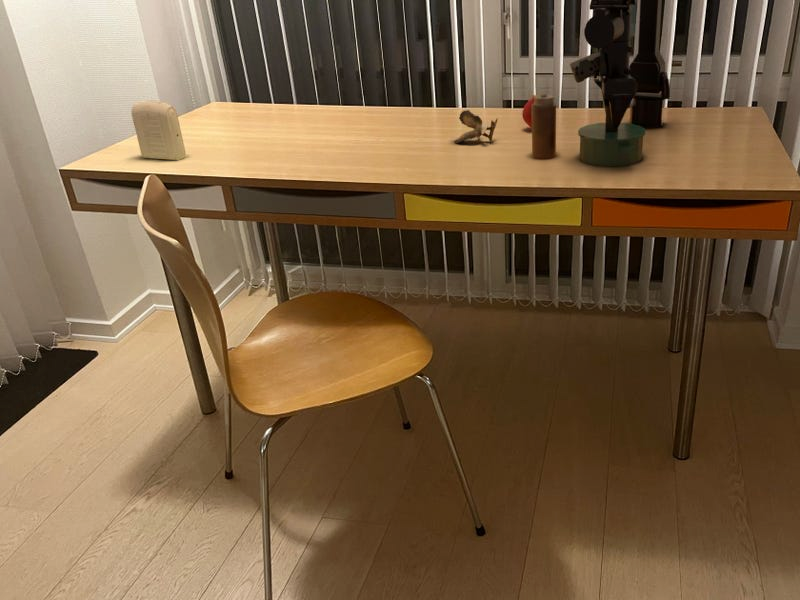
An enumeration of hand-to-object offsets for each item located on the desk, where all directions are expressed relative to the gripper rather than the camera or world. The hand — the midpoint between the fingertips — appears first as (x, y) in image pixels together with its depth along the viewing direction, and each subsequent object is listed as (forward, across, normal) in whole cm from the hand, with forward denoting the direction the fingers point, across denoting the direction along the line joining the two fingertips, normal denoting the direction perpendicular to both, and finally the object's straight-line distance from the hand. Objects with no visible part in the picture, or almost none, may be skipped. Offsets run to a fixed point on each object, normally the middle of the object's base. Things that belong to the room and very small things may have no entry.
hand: (612, 121), depth 162 cm
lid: (+2, 0, 0) cm, 2 cm away
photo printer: (+7, -15, -98) cm, 99 cm away
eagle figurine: (+8, -17, -28) cm, 34 cm away
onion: (+8, -25, -14) cm, 30 cm away
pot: (+7, 0, 0) cm, 7 cm away
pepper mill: (+7, -3, -14) cm, 16 cm away
